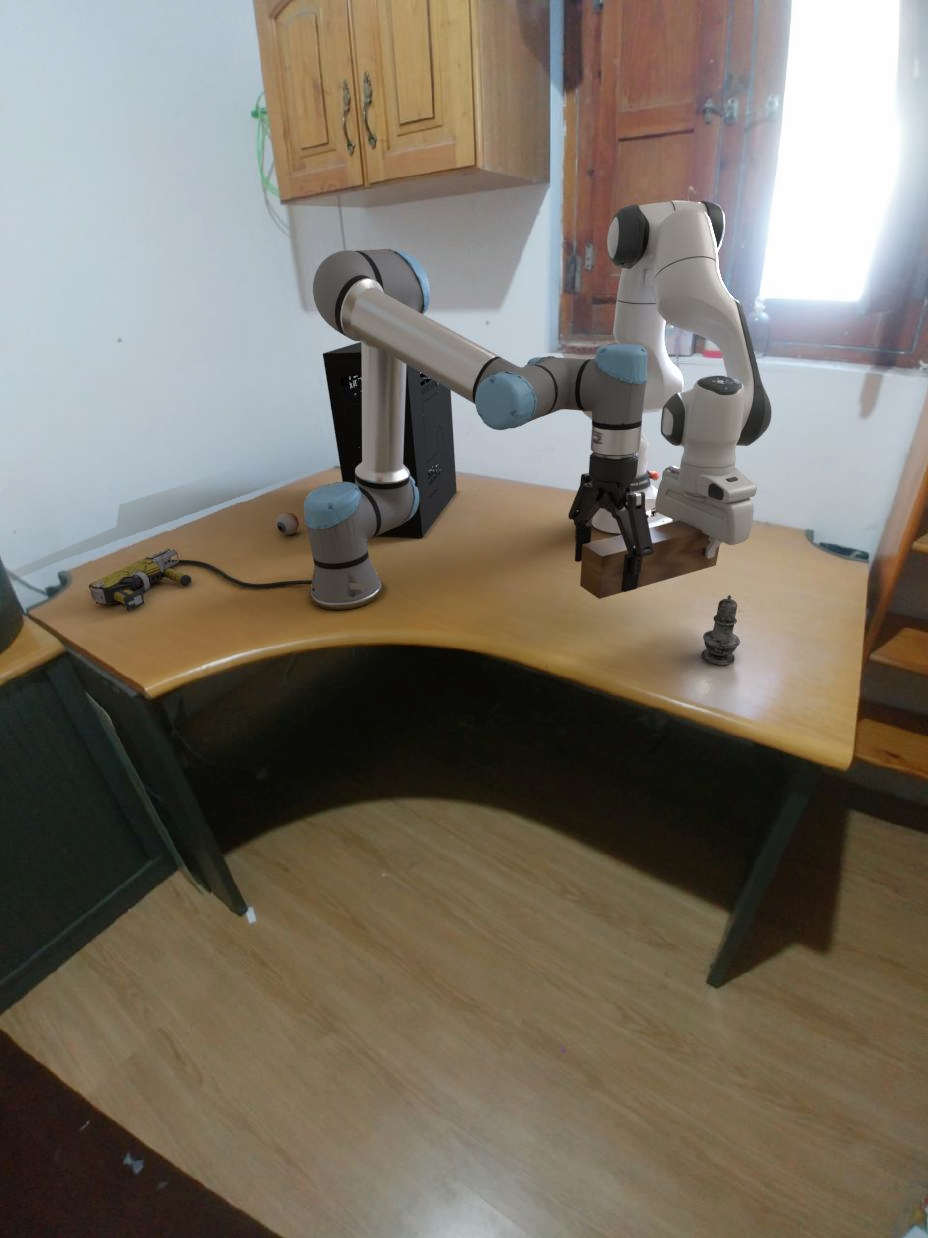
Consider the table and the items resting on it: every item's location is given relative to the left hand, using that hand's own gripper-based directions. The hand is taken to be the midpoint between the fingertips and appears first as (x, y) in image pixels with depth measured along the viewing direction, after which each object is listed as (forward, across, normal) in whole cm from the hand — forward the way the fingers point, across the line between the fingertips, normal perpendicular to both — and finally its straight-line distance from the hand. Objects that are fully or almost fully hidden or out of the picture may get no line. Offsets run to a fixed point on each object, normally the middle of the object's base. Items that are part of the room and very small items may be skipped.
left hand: (604, 574), depth 106 cm
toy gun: (+14, -68, -75) cm, 102 cm away
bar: (+3, 0, +10) cm, 11 cm away
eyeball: (+14, -84, -42) cm, 95 cm away
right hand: (0, 0, +20) cm, 20 cm away
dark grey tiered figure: (+13, +16, +14) cm, 24 cm away
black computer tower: (+13, -84, -7) cm, 85 cm away
